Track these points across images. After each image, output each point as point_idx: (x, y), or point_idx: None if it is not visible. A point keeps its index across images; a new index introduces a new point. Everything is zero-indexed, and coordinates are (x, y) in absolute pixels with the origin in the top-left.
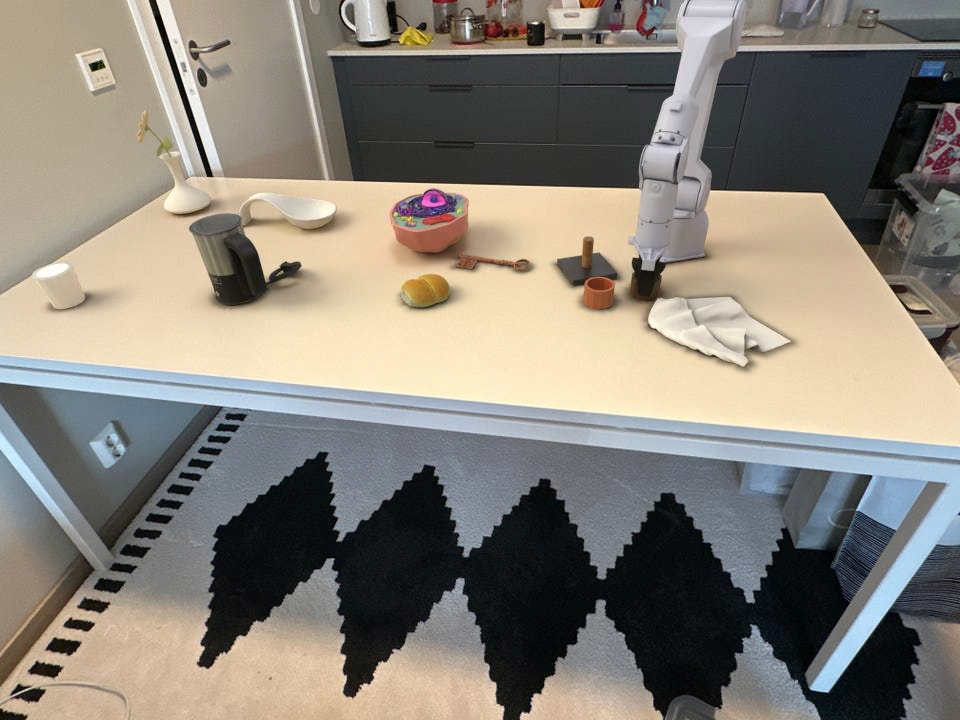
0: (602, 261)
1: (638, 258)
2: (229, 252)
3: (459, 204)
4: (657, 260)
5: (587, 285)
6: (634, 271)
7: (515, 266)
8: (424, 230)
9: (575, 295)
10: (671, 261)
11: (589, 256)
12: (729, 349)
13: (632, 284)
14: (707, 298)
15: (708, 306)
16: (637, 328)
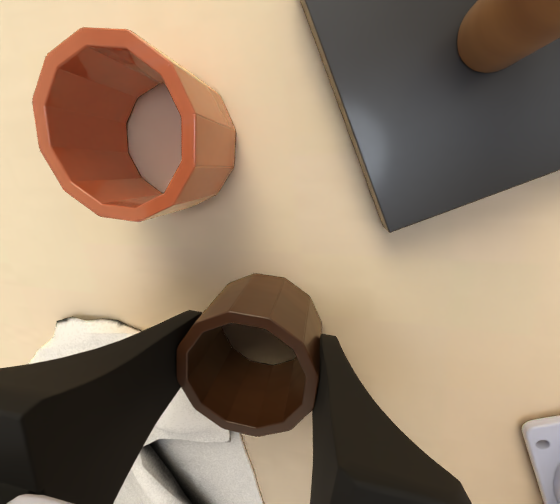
0: (549, 143)
1: (22, 455)
2: None
3: None
4: (313, 481)
5: (75, 50)
6: (33, 364)
7: None
8: None
9: (205, 19)
10: (531, 458)
11: (511, 6)
12: None
13: (226, 299)
14: (255, 489)
15: (154, 495)
16: (52, 282)
